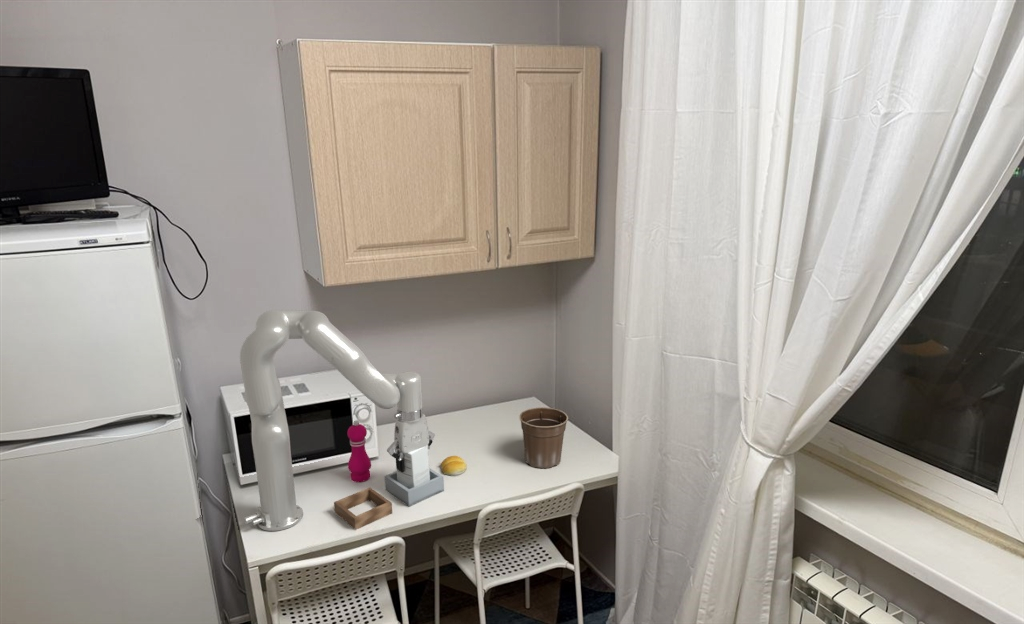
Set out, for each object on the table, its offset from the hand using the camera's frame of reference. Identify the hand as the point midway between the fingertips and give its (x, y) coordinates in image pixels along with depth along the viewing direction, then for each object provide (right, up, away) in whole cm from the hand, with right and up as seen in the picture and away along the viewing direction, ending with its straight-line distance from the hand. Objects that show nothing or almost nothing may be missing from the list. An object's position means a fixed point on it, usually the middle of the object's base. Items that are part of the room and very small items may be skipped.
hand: (412, 465), depth 197 cm
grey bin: (0, -8, +2) cm, 9 cm away
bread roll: (+11, -5, +15) cm, 20 cm away
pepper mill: (-19, -7, +11) cm, 22 cm away
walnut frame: (-13, -12, -10) cm, 20 cm away
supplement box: (0, -6, +2) cm, 6 cm away
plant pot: (+41, -3, +21) cm, 46 cm away
